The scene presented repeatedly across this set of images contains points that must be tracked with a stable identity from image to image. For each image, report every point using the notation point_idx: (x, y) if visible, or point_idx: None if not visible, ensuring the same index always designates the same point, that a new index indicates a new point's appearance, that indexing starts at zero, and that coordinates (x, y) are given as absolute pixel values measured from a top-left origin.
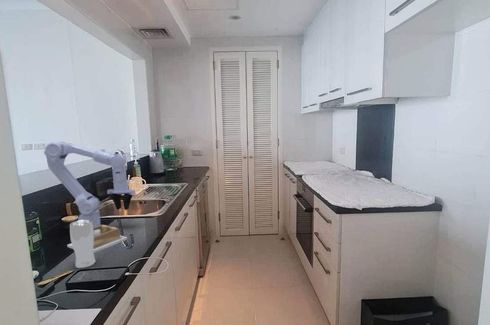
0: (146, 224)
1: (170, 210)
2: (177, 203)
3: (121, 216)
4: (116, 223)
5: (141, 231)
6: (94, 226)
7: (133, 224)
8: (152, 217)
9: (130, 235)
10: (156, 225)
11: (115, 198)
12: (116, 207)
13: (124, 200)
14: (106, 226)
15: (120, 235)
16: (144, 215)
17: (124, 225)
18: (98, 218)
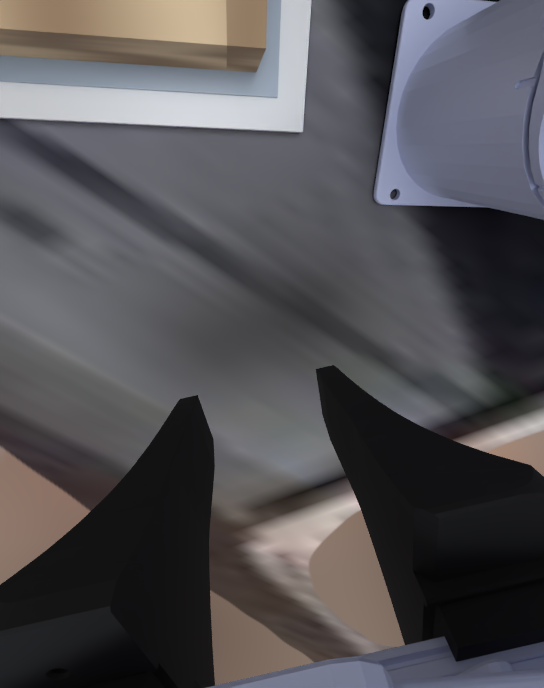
0: (165, 420)
1: (261, 598)
2: (322, 653)
3: (487, 439)
4: (410, 343)
5: (40, 314)
6: (434, 81)
7: (259, 382)
8: (257, 505)
9: (19, 208)
10: (74, 436)
11: (384, 494)
12: (336, 377)
13: (103, 513)
14: (116, 2)
15: (26, 118)
16: (343, 505)
17: (309, 342)
18: (469, 152)
